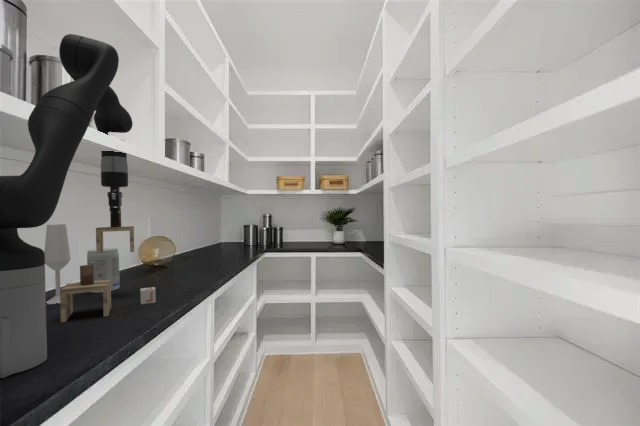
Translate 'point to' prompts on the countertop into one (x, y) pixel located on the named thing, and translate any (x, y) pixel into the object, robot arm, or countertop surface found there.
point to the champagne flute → (56, 254)
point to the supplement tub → (105, 266)
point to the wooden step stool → (84, 286)
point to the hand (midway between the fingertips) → (115, 224)
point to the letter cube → (148, 295)
